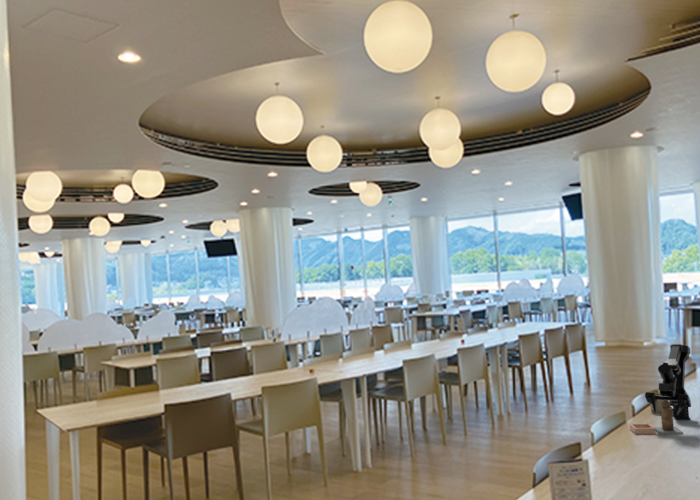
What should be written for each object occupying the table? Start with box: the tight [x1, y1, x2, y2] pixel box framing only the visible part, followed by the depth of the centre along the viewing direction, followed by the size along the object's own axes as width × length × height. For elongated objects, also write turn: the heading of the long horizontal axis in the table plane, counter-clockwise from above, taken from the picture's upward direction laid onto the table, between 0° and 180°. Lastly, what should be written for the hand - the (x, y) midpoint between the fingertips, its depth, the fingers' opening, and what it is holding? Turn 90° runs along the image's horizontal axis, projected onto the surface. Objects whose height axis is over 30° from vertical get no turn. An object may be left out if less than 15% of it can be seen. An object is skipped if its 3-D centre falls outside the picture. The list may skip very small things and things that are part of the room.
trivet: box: [653, 426, 684, 435], centre depth 281 cm, size 10×10×1 cm
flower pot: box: [649, 392, 664, 413], centre depth 322 cm, size 9×9×9 cm
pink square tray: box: [629, 423, 657, 435], centre depth 284 cm, size 9×9×2 cm
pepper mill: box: [660, 400, 675, 431], centre depth 281 cm, size 5×5×14 cm
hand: (665, 413), depth 280 cm, fingers open, 9 cm apart
